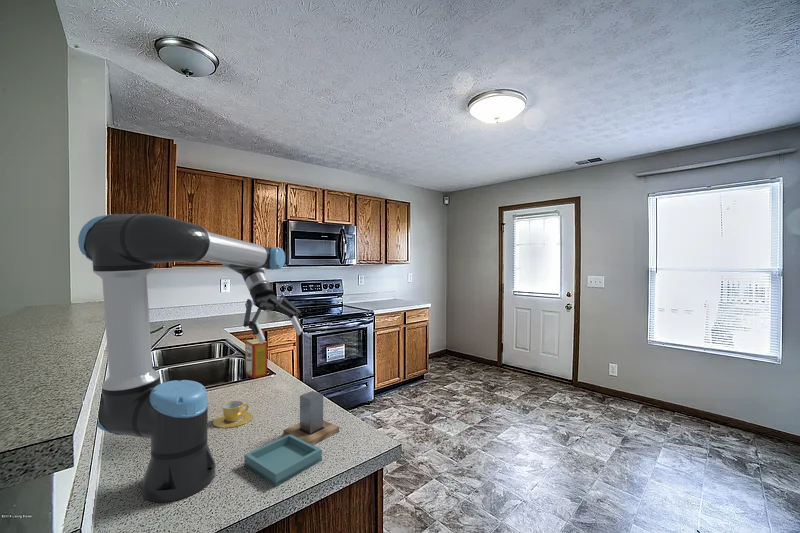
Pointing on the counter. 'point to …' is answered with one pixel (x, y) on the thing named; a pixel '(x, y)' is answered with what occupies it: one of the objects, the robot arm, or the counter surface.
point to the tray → (282, 459)
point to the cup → (233, 414)
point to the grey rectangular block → (311, 412)
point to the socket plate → (314, 438)
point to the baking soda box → (255, 358)
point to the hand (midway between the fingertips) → (282, 337)
